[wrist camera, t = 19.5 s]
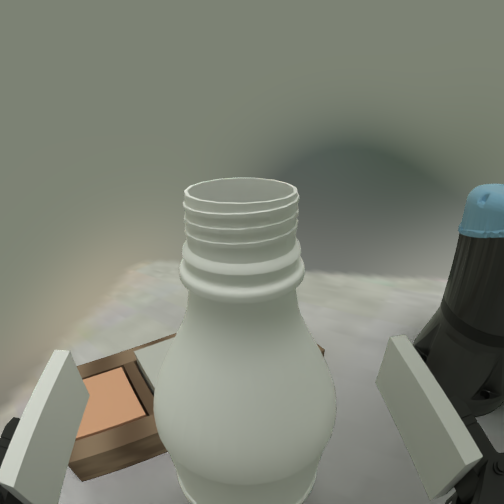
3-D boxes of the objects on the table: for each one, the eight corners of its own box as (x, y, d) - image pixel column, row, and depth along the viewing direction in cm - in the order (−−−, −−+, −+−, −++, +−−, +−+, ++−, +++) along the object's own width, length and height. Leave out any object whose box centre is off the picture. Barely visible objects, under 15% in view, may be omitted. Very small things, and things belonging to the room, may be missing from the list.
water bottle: (254, 575, 14) (265, 289, 4) (184, 523, 18) (61, 200, 8) (312, 515, 19) (411, 190, 9) (243, 473, 23) (233, 160, 13)
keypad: (258, 323, 44) (259, 302, 43) (320, 372, 35) (324, 349, 34) (57, 396, 29) (45, 375, 28) (82, 481, 20) (66, 463, 19)
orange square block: (127, 384, 32) (121, 367, 31) (152, 431, 26) (145, 414, 25) (70, 403, 28) (60, 386, 27) (85, 454, 23) (74, 438, 21)
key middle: (197, 348, 36) (194, 329, 35) (231, 387, 30) (229, 367, 29) (139, 370, 32) (133, 351, 31) (165, 415, 27) (160, 397, 25)
